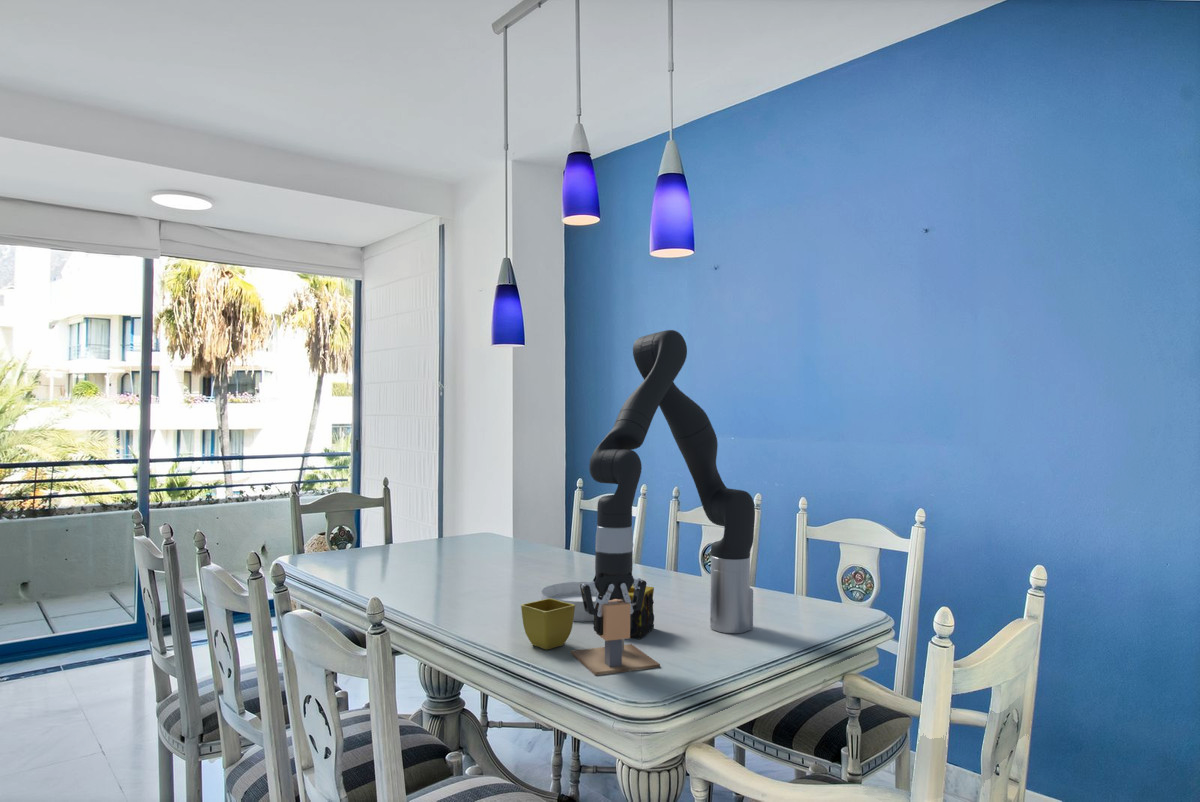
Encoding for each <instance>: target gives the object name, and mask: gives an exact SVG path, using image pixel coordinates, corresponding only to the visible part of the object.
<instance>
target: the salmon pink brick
mask: <svg viewBox="0 0 1200 802" xmlns="http://www.w3.org/2000/svg"><path fill="white" fill-rule="evenodd" d="M630 609H631V604H630V603H625V602H623V601H621V600H619V599H613V600H609V602H608V604H607V605H604V612H603V615H602V617H603V635H601V636H599V637H600V638H601V639H603V640H604V642H605V641H609V640H618V639H624V640H627V639H631V638H630ZM595 634H596V635H598V634H597V633H596V632H595Z"/></svg>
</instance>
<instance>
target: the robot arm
mask: <svg viewBox="0 0 1200 802" xmlns="http://www.w3.org/2000/svg"><path fill="white" fill-rule="evenodd" d="M687 355H688V346H687V343H686V340H685V339H684V336H683V335H682V334H681V333H680V332H678V331H677V330H674V329H668V330H662V331H657V332H654V333H650V334H647V335H643V336H641V337H638V338H637V339H636V340H635V341H634V343H633V346H632V356H633V360H634V362H635V365H636V367H637V369H638V372H639V373H640V375H641V377H642V379H643V381H642V382H641V383H640V384H639V386H637V388H636V389H635V390H634V391H632V393H631V394H630V395H629V397H627V399H626V400H625V401H624V403H623V405H622V406H621V408H620V410H619V412H618V415H617V417H616V419H615V422H614V423H613V427H612V428H611V430H610V431H609V432H608V433H607V434H606V436H604V438H603V439H602V440H601V441H600V443H599V444H598V445H597V446H596V448H595V449H594V451H593V452H592V455H591V457H590V459H589V463H588V466H589V467H588V469H589V474H590V476H591V478H592V479H593V480H594V481H595V482H596V483H600V484H611V485H614V484H615V485H617V487H616V490H615V492H614V494H608V495H603V496H601V497H599V499H598V500H597V506H596V507H597V509H596V511H597V512H596V514H597V515H596V517H597V518H596V519H597V520H596V531H595V532H596V533H595V553H594V554H595V558H594V560H595V562H594V563H595V564H594V572H595V574H594V575H595V576H594V578H593V580H592V581H588V582H589V583H581V584H580V589H581V594H582V599H583V604H584V609H585V611H586V612H588V613H589V614H591V615H594V621H593V630H594V632H595V634H596V633H597V634H596V635H597V636H598V637H600V636H601V635H603V617H602V615H603V612H604V605H607V604H608V602H609V600H613V599H619V600H621V601H623V602H625V603H630V604H631V609H630V629H632V614H633V612H634V611H636V610H640V609H641V608H642V603H643V598H644V594H645V589H646V586H647V581H646V580H643V579H642V578H634V576H633V569H634V568H633V564H634V563H633V561H634V560H633V559H634V558H633V556H634V542H633V541H634V534H633V504H634V501H635V500H634V499H635V496H636V492H637V488H638V485H639V482H640V480H641V479H640V478H641V474H642V467H643V466H642V461H641V458H640V456H639V454H638V453H637V452H636V451H635V450H637V449H638V448H640V447H641V446H642V445H643V444H644V442H645V439H646V437H647V434H648V431H649V428H650V427H651V423H652V421H653V420H654V419H653V418H654V416H655V414H656V412H657V409H658V408H659V409H660V410H661V412H662V414H663V417H664V419H665V420H666V422H667V425H668V428H669V429H670V432H671V434H672V437H673V438H674V441H675V443H676V445H677V447H678V450H679V451H680V454H681V455H682V457H683V459H684V462H685V464H686V466H687V468H688V470H689V472H690V475H691V477H692V480H693V482H694V485H695V488H696V490H697V493H698V496H699V499H700V503H701V506H702V508H703V511H704V514H705V516H706V517H707V519H708V520H709V521H710V522H711V523H712V524H714V525H716V526H719V527H724V528H723V537H722V538H721V539H720V540H716V541H714V542H713V543H711V546H710V611H709V614H710V619H709V622H710V625H709V627H710V629H711V630H713V631H716V632H720V633H725V634H741V633H742V634H743V633H746V632H748V631H751V630H753V629H754V589H753V588H751V577H750V576H751V550H752V546H753V544H754V538H755V535H754V534H755V524H756V523H755V520H756V519H755V517H756V506H755V502H754V498H753V497H752V495H751V494H750V493H749V492H748V491H746V490H742V489H735V488H728V487H727V486H726V485H725V483H724V482H723V479H722V478H721V475H720V473H719V470H718V468H717V467H718V466H717V456H718V446H719V445H718V437H717V434H716V432H715V429H714V427H713V425H712V423H711V420H710V418H709V416H708V414H707V413H706V412H705V410H704V409H703V408H702V407H701V406H700V405H699V404H698V403H697V402H695V401H694V400H693V399H692V398H690V397H689V396H688V395H686V393H684V392H683V391H682V390H681V389H680V388H679V387H678V386H677V385H676V384H675V383H674V382H675V379H676V378H677V377H678V375H679V373H680V371H682V368H683V367H684V365H685V362H686V361H687V360H686V359H687ZM632 585H633V588H634V589H635V590H634V594H633V599H632V603H631V599H630V597H629V594H628V591H629V590H630V588H631V587H632ZM594 587H595V588H596V589H597V591H598V595H597V597H596V603H595V606H593V601H592V596H591V594H592V593H593V588H594Z"/></svg>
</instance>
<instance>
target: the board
mask: <svg viewBox="0 0 1200 802" xmlns="http://www.w3.org/2000/svg"><path fill="white" fill-rule="evenodd" d="M570 652H571V653H570V654H571V655H572V656H573V657H574V658H576V659H577V661H579V663H581V664H582V665H583V666H584V667H585V668H586V669H588V671H589V672H590V673H592V674H593V675H594V676H603V675H609V674H617V673H626V672H634V671H641V670H647V669H657V668H660V667H661V663H659V662H658V661H656V660H655V659H653V658H652V657H650V656H649V655H648V654H647V653H645V652H643V651H642V650H640V649H639V648H638V647H637V646H636V645H633V644H632V643H630V644H624V652H622V666H617V667H608V666H607V665H606V664H605V646H604V647H601V646H600V647H594V648H584V649H575V650H571V651H570Z"/></svg>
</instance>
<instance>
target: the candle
mask: <svg viewBox="0 0 1200 802" xmlns="http://www.w3.org/2000/svg"><path fill="white" fill-rule="evenodd" d="M634 590H635V589H634V588H633V585H632V587H631V588H630V590H629V591H628V594H629V597H630V599H631V603H632V599H633V594H634ZM654 590H655V587H653V586H647V585H646V589H645V594H644V598H643V603H642V608H641V609H640V610H636V611H634V612H633V614H632V629H630V638H629V639H635V640H642V639H643V638H645V636H646V635H647V634H648V633H650V631H652V630H653V629H654V628H655V624H654V622H655V614H654V603H655V601H654V592H655V591H654Z"/></svg>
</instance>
